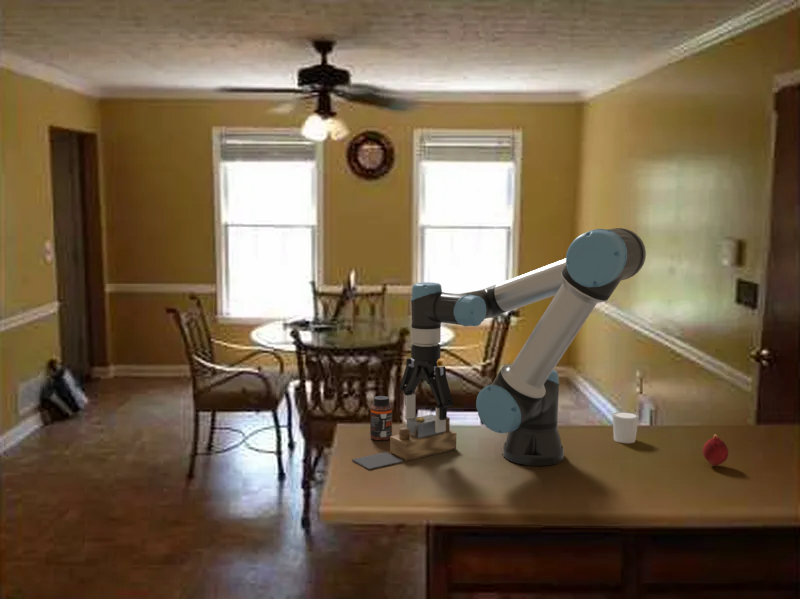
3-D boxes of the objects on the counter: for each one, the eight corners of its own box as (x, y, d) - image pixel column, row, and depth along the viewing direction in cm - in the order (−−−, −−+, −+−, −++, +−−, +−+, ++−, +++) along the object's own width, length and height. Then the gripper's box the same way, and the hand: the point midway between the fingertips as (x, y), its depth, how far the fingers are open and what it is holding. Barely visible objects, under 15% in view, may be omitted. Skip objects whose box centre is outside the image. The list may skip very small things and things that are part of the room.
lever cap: (443, 434, 200) (443, 417, 199) (418, 439, 195) (418, 422, 195) (431, 429, 204) (432, 412, 203) (406, 434, 199) (406, 417, 199)
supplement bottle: (389, 442, 207) (389, 400, 206) (368, 440, 208) (367, 399, 207) (394, 435, 213) (394, 395, 212) (373, 433, 214) (373, 394, 213)
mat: (403, 462, 191) (403, 460, 191) (369, 470, 186) (369, 468, 186) (385, 453, 198) (385, 451, 198) (352, 460, 192) (352, 459, 192)
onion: (731, 466, 189) (733, 434, 188) (722, 472, 185) (724, 439, 184) (707, 460, 193) (709, 429, 192) (698, 466, 189) (699, 434, 188)
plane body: (440, 442, 207) (440, 413, 206) (456, 449, 201) (456, 419, 200) (390, 453, 198) (390, 423, 197) (405, 461, 192) (405, 429, 191)
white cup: (640, 444, 206) (642, 418, 205) (615, 443, 206) (616, 418, 205) (633, 436, 213) (634, 411, 212) (608, 436, 213) (609, 411, 212)
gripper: (468, 350, 188) (466, 435, 191) (410, 334, 208) (409, 411, 211) (443, 353, 184) (442, 440, 187) (386, 337, 204) (386, 415, 207)
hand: (425, 425), depth 199 cm, fingers open, 12 cm apart
